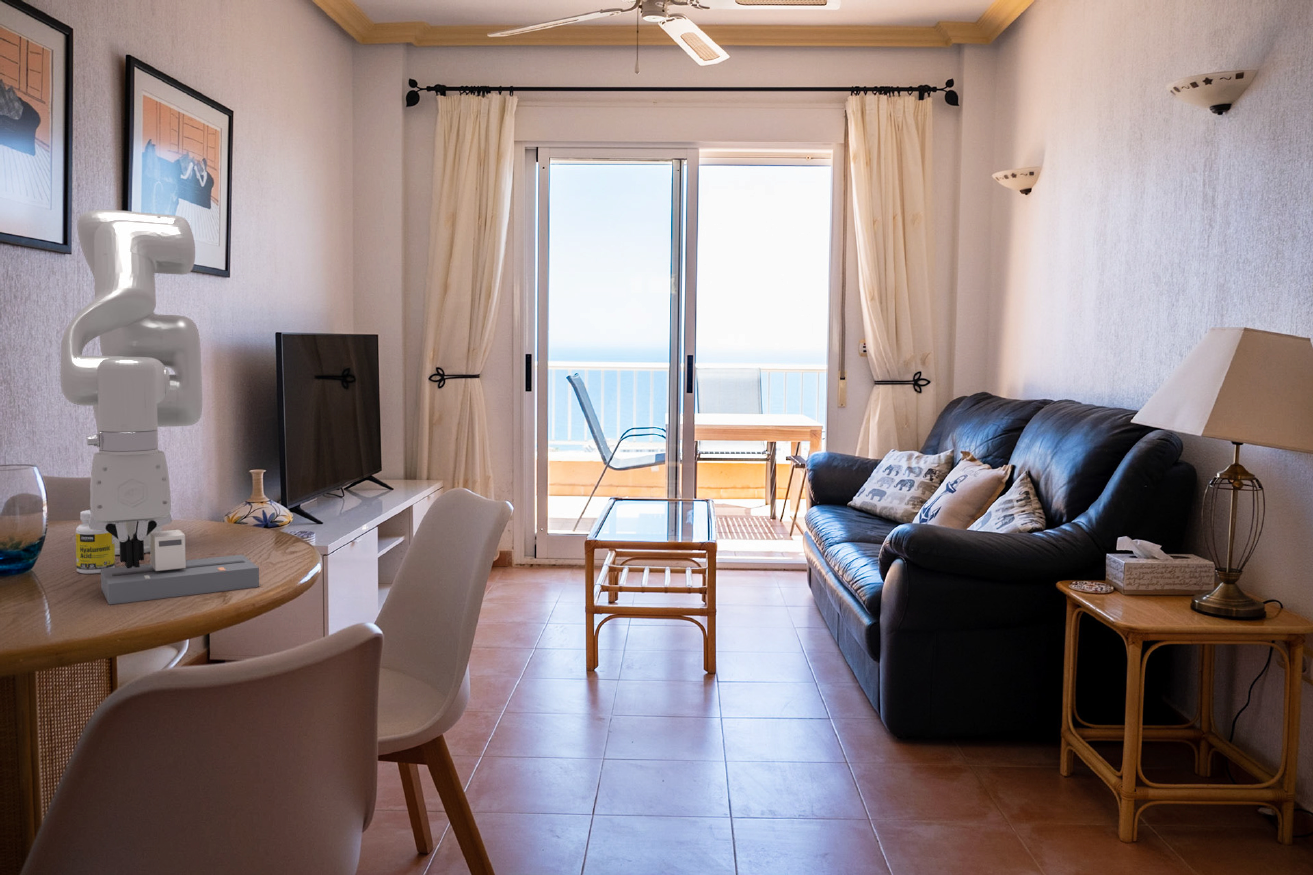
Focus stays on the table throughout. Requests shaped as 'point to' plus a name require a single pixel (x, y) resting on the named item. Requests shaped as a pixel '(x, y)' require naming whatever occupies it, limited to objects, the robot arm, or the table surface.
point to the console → (178, 579)
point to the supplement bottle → (93, 547)
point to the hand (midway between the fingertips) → (132, 565)
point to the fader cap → (167, 550)
